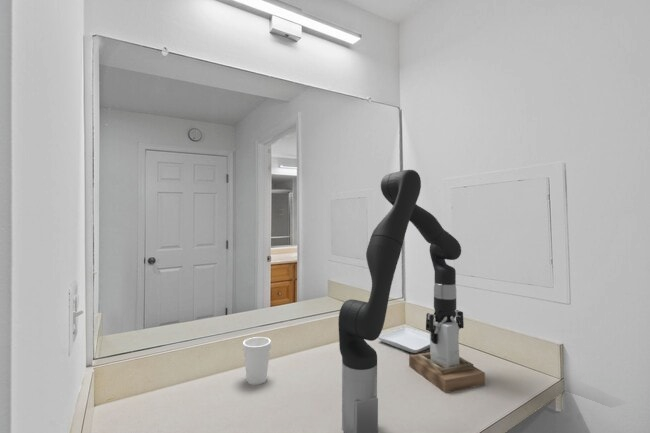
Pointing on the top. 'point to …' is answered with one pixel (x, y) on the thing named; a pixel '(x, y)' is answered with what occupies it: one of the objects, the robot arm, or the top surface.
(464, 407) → the top surface
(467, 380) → the block
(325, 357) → the top surface
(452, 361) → the skincare box
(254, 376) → the foam cup
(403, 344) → the salad plate
